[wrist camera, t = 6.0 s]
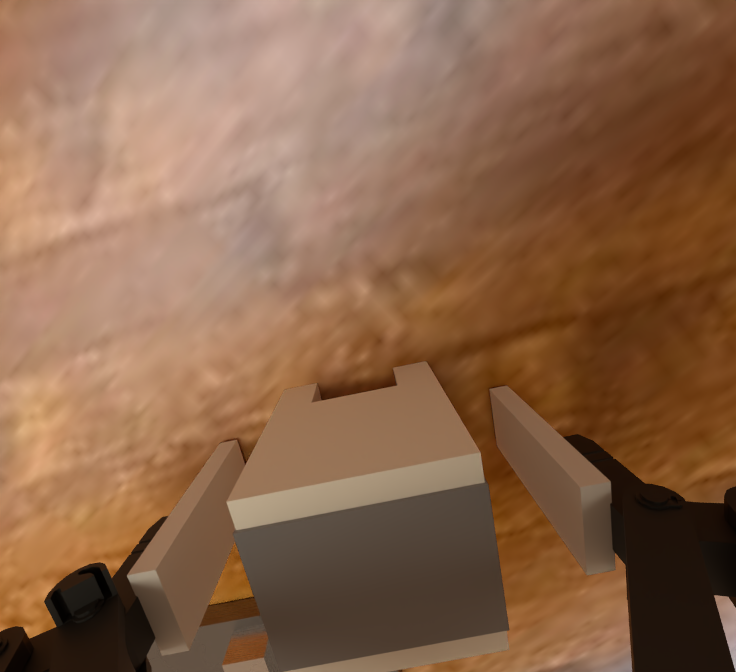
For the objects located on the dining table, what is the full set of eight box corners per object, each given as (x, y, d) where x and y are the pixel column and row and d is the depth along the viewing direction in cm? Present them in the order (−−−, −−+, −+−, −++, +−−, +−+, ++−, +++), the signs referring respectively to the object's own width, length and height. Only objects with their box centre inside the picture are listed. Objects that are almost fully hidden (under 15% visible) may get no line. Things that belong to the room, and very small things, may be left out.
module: (283, 389, 15) (222, 505, 9) (427, 360, 15) (484, 454, 8) (316, 510, 17) (287, 694, 10) (448, 485, 17) (512, 653, 10)
